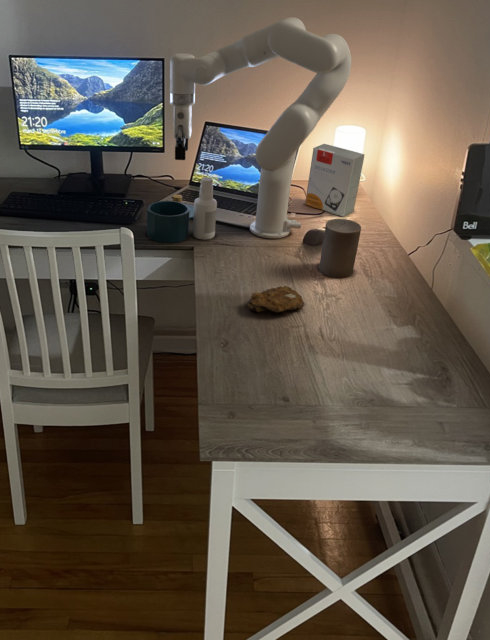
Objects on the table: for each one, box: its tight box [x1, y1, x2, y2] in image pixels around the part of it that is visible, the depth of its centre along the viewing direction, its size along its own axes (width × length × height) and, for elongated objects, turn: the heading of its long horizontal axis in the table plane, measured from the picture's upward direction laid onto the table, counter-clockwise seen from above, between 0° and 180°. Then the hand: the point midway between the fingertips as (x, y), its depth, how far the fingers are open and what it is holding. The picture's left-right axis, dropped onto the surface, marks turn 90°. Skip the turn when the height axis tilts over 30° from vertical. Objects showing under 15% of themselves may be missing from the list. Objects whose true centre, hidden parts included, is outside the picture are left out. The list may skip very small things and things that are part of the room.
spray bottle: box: [192, 176, 218, 240], centre depth 205 cm, size 7×7×18 cm
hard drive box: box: [304, 143, 366, 218], centre depth 227 cm, size 16×8×20 cm, turn 49°
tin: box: [146, 200, 190, 244], centre depth 207 cm, size 13×13×8 cm
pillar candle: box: [318, 218, 362, 278], centre depth 189 cm, size 10×10×15 cm
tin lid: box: [172, 194, 194, 220], centre depth 222 cm, size 14×14×6 cm
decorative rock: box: [246, 285, 305, 314], centre depth 172 cm, size 11×4×15 cm
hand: (181, 155), depth 213 cm, fingers open, 9 cm apart
